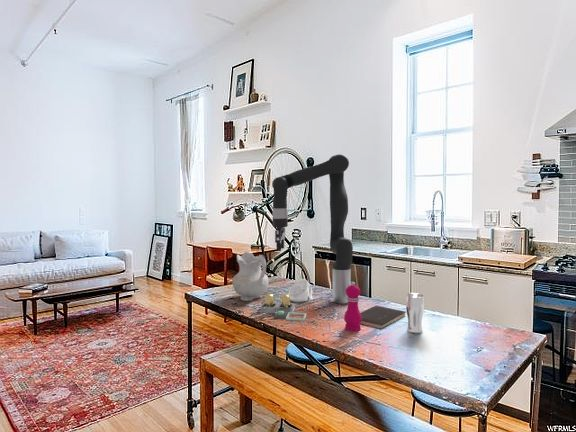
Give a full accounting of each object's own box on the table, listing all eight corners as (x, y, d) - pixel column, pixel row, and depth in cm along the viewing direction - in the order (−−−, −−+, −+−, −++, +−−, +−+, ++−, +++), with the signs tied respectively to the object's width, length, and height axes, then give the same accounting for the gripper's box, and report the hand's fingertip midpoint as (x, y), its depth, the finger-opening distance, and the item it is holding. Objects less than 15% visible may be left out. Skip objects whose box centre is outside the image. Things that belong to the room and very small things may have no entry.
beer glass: (414, 335, 160) (415, 298, 159) (402, 329, 166) (402, 294, 165) (427, 332, 163) (427, 295, 162) (414, 327, 169) (415, 292, 168)
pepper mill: (363, 327, 170) (363, 280, 168) (359, 333, 163) (359, 284, 162) (347, 325, 173) (347, 279, 171) (341, 330, 166) (342, 282, 165)
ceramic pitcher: (279, 299, 217) (280, 253, 217) (257, 305, 200) (258, 255, 200) (247, 294, 228) (248, 250, 228) (224, 299, 212) (225, 252, 212)
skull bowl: (320, 296, 213) (313, 279, 208) (306, 315, 205) (297, 298, 200) (305, 292, 220) (297, 276, 215) (291, 311, 212) (282, 294, 207)
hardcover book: (406, 316, 185) (406, 311, 185) (382, 330, 168) (382, 324, 168) (374, 309, 195) (374, 305, 195) (349, 322, 178) (349, 317, 178)
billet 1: (274, 308, 194) (274, 293, 193) (272, 310, 190) (272, 295, 189) (266, 307, 194) (266, 293, 194) (264, 310, 190) (264, 295, 190)
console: (287, 317, 183) (287, 312, 183) (285, 321, 178) (285, 315, 178) (276, 317, 184) (276, 311, 184) (274, 320, 179) (274, 315, 179)
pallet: (295, 309, 195) (295, 303, 195) (292, 316, 185) (292, 309, 185) (263, 308, 198) (263, 301, 197) (258, 314, 188) (258, 307, 188)
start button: (284, 315, 182) (284, 310, 182) (283, 317, 179) (283, 312, 179) (278, 314, 183) (278, 310, 182) (277, 317, 180) (276, 312, 180)
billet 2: (290, 308, 192) (290, 294, 192) (289, 311, 188) (289, 296, 188) (282, 308, 193) (282, 294, 192) (280, 311, 189) (280, 296, 189)
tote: (306, 317, 183) (306, 313, 183) (304, 323, 175) (304, 318, 175) (288, 316, 185) (288, 312, 184) (285, 322, 176) (285, 318, 176)
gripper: (285, 218, 193) (285, 252, 194) (289, 216, 207) (290, 247, 208) (269, 218, 194) (270, 251, 195) (275, 216, 208) (275, 247, 209)
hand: (280, 249), depth 201 cm, fingers open, 8 cm apart
